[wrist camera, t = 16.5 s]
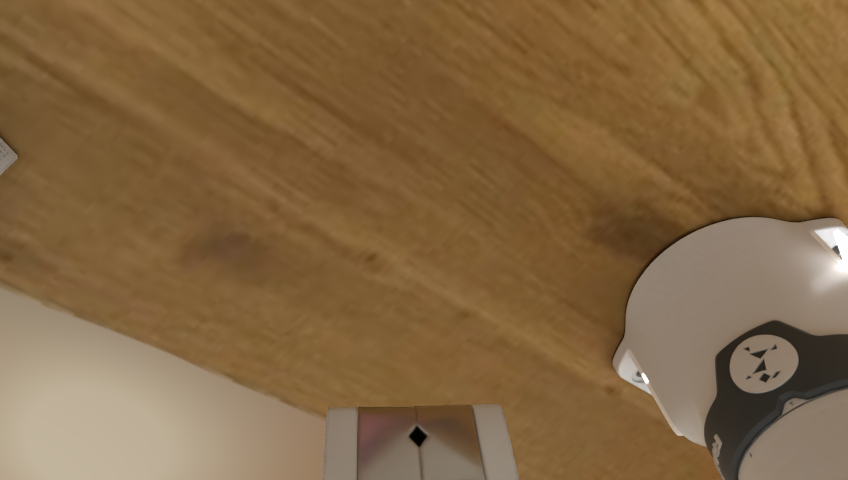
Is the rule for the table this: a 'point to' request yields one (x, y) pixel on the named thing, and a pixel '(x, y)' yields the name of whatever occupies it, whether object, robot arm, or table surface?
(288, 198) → the table surface
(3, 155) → the supplement box
